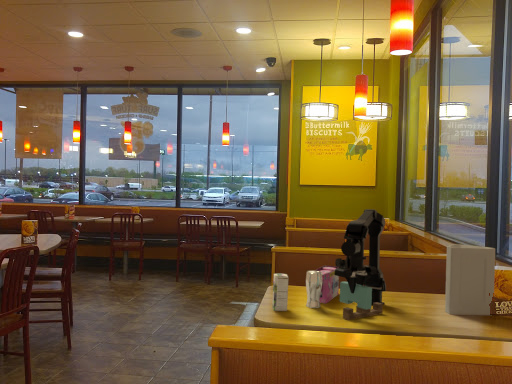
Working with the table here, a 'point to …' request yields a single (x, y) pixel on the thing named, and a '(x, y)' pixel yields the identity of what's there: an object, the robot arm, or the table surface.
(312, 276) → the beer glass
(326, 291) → the gum box
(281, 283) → the syrup box
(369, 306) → the teal plate
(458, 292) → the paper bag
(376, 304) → the walnut rail
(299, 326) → the table surface
